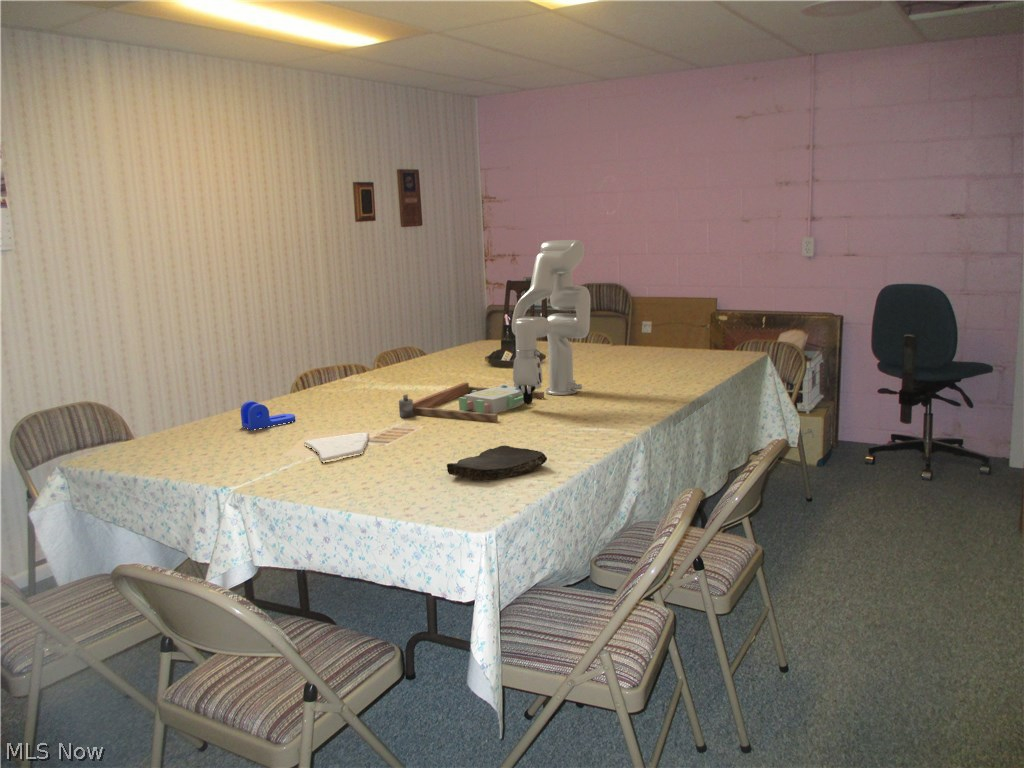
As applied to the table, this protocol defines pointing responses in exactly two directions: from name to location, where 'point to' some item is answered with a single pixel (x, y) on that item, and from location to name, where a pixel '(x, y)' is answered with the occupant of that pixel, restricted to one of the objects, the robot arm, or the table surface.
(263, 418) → the bracket
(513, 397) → the decorative block
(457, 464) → the stone slab
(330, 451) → the flat white fragment
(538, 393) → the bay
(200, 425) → the table surface
